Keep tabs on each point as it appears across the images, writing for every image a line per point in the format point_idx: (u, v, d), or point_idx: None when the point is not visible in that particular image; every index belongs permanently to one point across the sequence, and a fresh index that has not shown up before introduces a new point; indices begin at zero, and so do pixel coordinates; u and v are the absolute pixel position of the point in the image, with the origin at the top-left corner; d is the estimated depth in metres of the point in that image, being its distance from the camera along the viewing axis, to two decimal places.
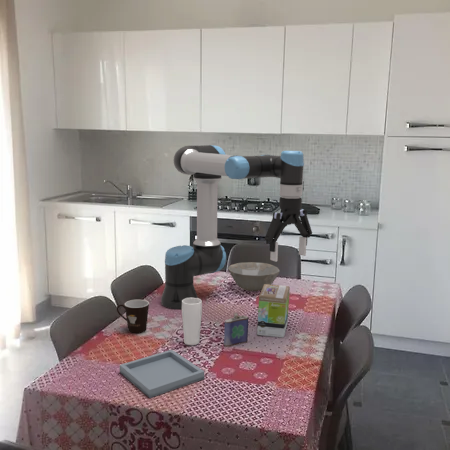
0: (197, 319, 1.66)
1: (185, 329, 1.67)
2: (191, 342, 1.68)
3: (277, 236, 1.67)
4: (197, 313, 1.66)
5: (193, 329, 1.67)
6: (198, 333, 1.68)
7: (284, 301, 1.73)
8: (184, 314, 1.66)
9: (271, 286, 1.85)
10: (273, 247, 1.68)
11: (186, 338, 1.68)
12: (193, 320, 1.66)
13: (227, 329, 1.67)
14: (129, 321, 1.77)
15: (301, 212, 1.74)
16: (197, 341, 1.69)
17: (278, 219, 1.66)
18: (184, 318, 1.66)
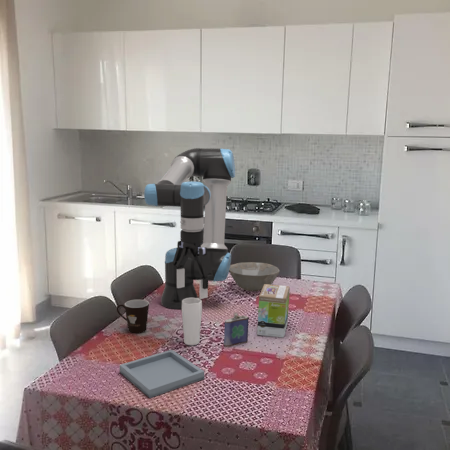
0: (197, 319, 1.66)
1: (185, 329, 1.67)
2: (191, 342, 1.68)
3: (177, 263, 1.70)
4: (197, 313, 1.66)
5: (193, 329, 1.67)
6: (198, 333, 1.68)
7: (284, 301, 1.73)
8: (184, 314, 1.66)
9: (271, 286, 1.85)
10: None
11: (186, 338, 1.68)
12: (193, 320, 1.66)
13: (227, 329, 1.67)
14: (129, 321, 1.77)
15: None
16: (197, 341, 1.69)
17: (178, 247, 1.69)
18: (184, 318, 1.66)
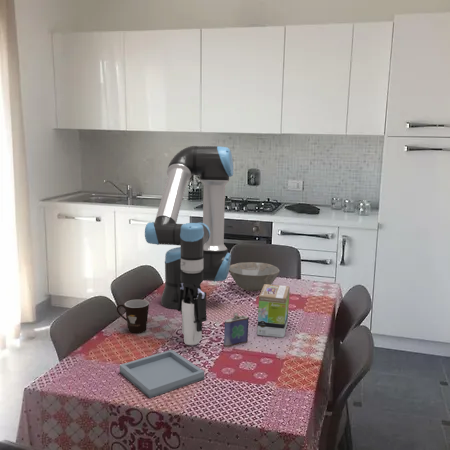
0: None
1: (185, 329, 1.67)
2: (191, 342, 1.68)
3: None
4: None
5: (193, 329, 1.67)
6: None
7: (284, 301, 1.73)
8: (184, 314, 1.66)
9: (271, 286, 1.85)
10: None
11: (186, 338, 1.68)
12: (193, 320, 1.66)
13: (227, 329, 1.67)
14: (129, 321, 1.77)
15: (199, 293, 1.63)
16: (197, 341, 1.69)
17: (179, 290, 1.71)
18: (184, 318, 1.66)
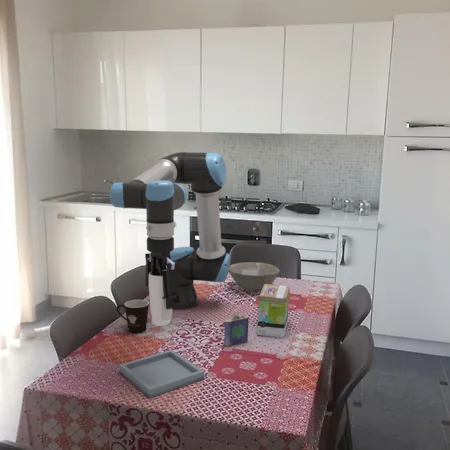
0: None
1: (153, 306, 1.41)
2: (159, 321, 1.42)
3: None
4: None
5: (162, 306, 1.41)
6: None
7: (284, 301, 1.73)
8: (151, 288, 1.40)
9: (271, 286, 1.85)
10: None
11: (154, 317, 1.42)
12: (161, 296, 1.40)
13: (227, 329, 1.67)
14: (129, 321, 1.77)
15: (168, 263, 1.37)
16: (167, 321, 1.43)
17: (146, 261, 1.45)
18: (151, 293, 1.40)
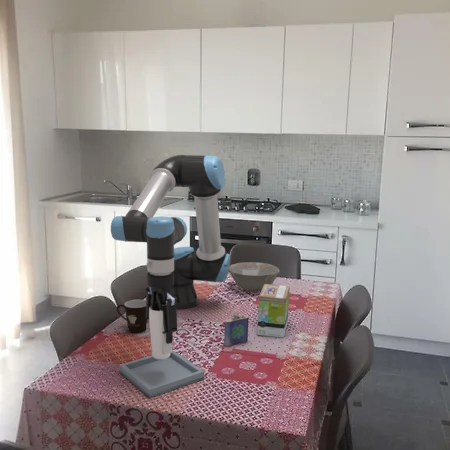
0: None
1: (153, 340, 1.43)
2: (159, 355, 1.43)
3: None
4: None
5: (162, 340, 1.42)
6: None
7: (284, 301, 1.73)
8: (151, 323, 1.42)
9: (271, 286, 1.85)
10: None
11: (154, 351, 1.44)
12: (162, 331, 1.42)
13: (227, 329, 1.67)
14: (129, 321, 1.77)
15: (168, 298, 1.39)
16: (167, 354, 1.44)
17: (147, 294, 1.47)
18: (151, 328, 1.42)
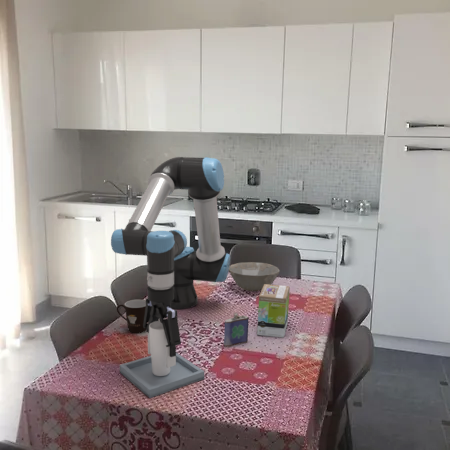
0: None
1: (153, 358, 1.44)
2: (159, 372, 1.45)
3: (148, 326, 1.48)
4: (166, 340, 1.42)
5: (162, 358, 1.43)
6: None
7: (284, 301, 1.73)
8: (151, 341, 1.43)
9: (271, 286, 1.85)
10: None
11: (154, 368, 1.45)
12: (162, 348, 1.42)
13: (227, 329, 1.67)
14: (129, 321, 1.77)
15: None
16: (167, 371, 1.46)
17: (146, 305, 1.48)
18: (151, 345, 1.43)
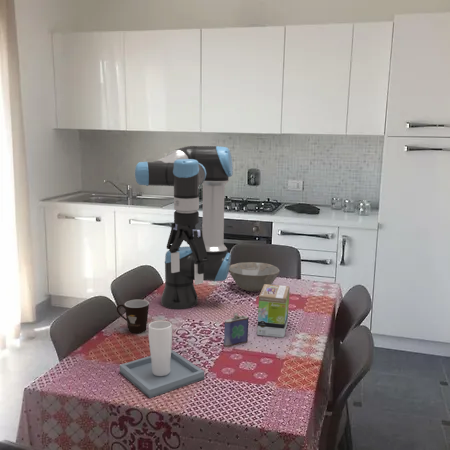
0: (166, 347, 1.43)
1: (153, 358, 1.44)
2: (159, 372, 1.45)
3: (172, 247, 1.59)
4: (166, 339, 1.43)
5: (162, 358, 1.44)
6: (167, 362, 1.45)
7: (284, 301, 1.73)
8: (151, 341, 1.43)
9: (271, 286, 1.85)
10: None
11: (154, 368, 1.45)
12: (161, 348, 1.43)
13: (227, 329, 1.67)
14: (129, 321, 1.77)
15: None
16: (167, 371, 1.46)
17: (172, 229, 1.58)
18: (151, 345, 1.43)
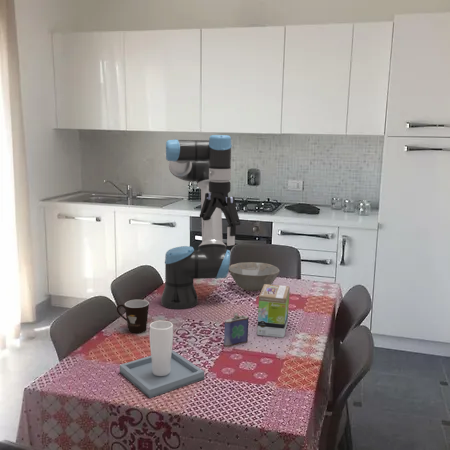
0: (167, 347, 1.43)
1: (153, 358, 1.44)
2: (160, 372, 1.45)
3: (205, 214, 1.79)
4: (167, 339, 1.43)
5: (162, 358, 1.44)
6: (168, 362, 1.45)
7: (284, 301, 1.73)
8: (152, 341, 1.43)
9: (271, 286, 1.85)
10: (204, 224, 1.81)
11: (154, 368, 1.45)
12: (162, 348, 1.43)
13: (227, 329, 1.67)
14: (129, 321, 1.77)
15: (227, 199, 1.69)
16: (167, 371, 1.46)
17: (205, 199, 1.77)
18: (152, 345, 1.43)
